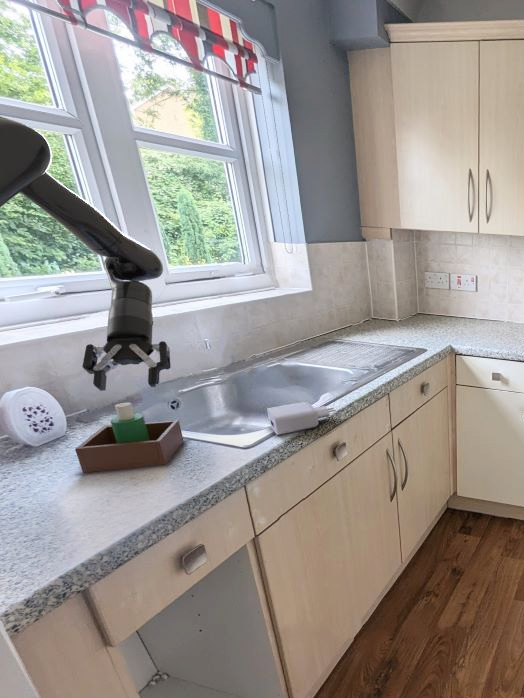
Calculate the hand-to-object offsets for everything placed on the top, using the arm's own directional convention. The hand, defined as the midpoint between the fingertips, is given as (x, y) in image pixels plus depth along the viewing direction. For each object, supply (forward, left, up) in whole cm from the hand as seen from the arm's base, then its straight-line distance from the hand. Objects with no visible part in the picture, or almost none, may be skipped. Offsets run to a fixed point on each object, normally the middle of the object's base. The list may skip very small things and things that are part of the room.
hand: (127, 387), depth 96 cm
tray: (0, -4, -14) cm, 15 cm away
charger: (+32, +6, -14) cm, 36 cm away
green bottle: (0, -4, -13) cm, 14 cm away
